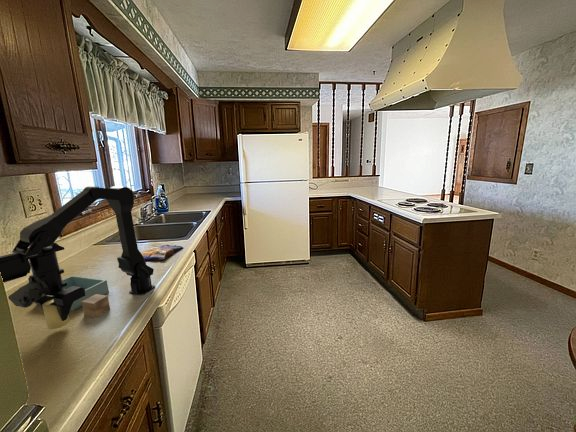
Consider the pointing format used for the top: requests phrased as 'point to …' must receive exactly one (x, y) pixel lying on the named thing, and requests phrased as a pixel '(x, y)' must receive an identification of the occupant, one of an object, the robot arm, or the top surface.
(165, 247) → the food package
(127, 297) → the top surface
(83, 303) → the walnut cube
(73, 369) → the top surface
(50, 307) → the yellow teardrop shape
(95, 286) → the tote
